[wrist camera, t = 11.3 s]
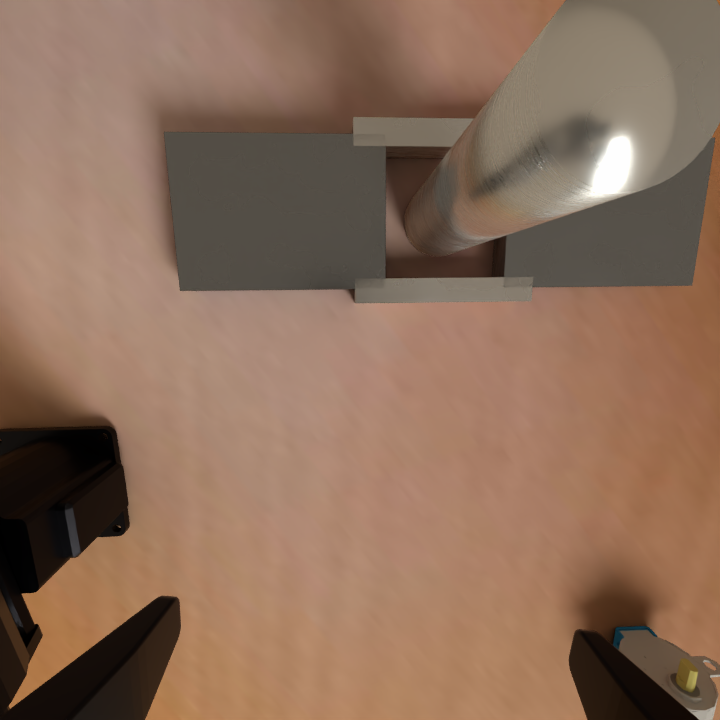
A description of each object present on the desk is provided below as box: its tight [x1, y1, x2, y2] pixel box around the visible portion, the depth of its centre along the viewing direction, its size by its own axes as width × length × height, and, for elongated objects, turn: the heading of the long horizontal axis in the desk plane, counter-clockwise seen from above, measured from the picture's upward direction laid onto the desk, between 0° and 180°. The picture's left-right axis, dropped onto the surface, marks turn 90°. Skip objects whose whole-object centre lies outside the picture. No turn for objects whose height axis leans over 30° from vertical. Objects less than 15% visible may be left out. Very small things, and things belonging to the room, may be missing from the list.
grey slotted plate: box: [164, 117, 715, 303], centre depth 18 cm, size 26×8×2 cm, turn 90°
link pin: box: [404, 0, 720, 257], centre depth 13 cm, size 4×4×13 cm
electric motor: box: [613, 626, 720, 720], centre depth 22 cm, size 7×5×5 cm
